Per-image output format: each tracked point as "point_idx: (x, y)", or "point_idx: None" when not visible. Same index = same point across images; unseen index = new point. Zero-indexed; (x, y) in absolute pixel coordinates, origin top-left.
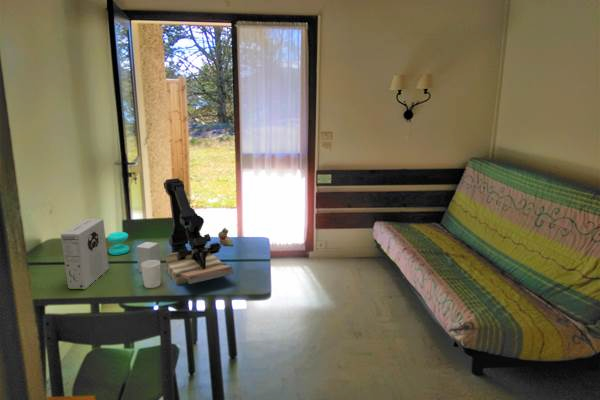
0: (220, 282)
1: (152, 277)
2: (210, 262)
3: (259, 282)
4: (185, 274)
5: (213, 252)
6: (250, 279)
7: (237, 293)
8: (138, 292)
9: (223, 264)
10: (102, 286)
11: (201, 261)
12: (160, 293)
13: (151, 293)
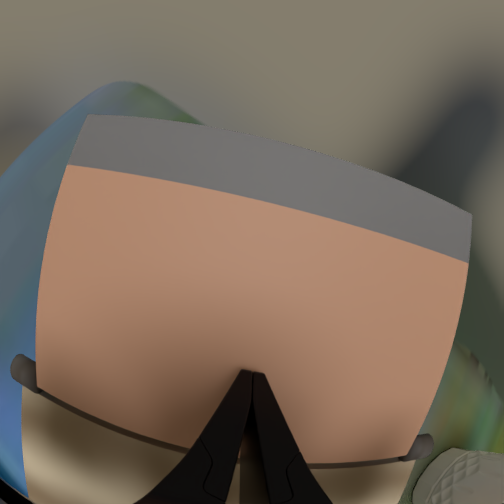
0: None
1: (491, 454)
2: (87, 497)
3: (49, 146)
4: (440, 356)
5: (15, 498)
6: (38, 195)
7: (190, 118)
8: (489, 426)
9: (28, 369)
10: None
11: (275, 445)
12: (463, 377)
13: (477, 396)
